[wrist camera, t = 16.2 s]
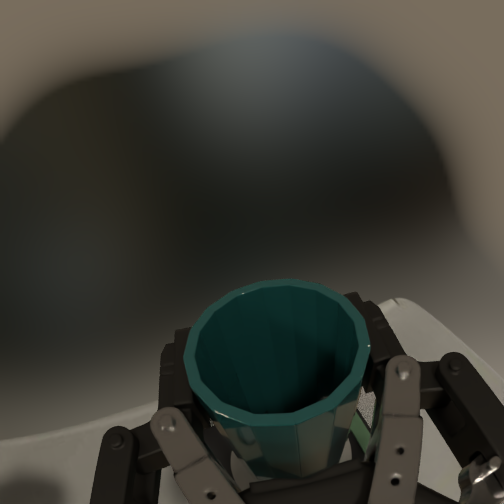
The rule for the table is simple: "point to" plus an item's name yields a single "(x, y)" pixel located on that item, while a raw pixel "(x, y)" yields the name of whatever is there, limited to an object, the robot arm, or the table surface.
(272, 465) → the cup
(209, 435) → the scale
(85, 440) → the table surface
